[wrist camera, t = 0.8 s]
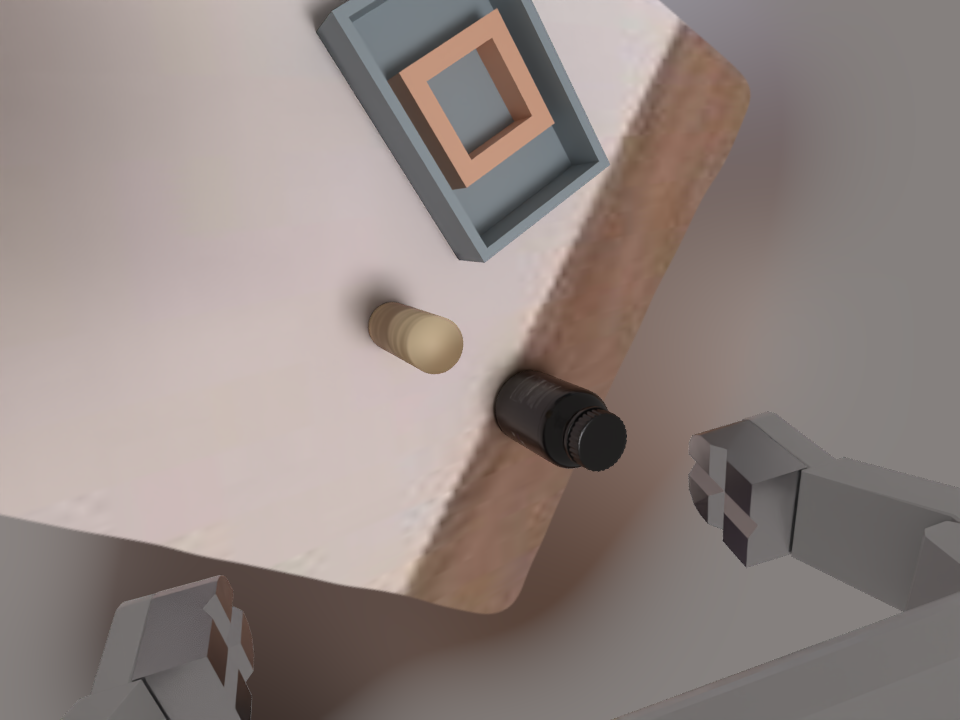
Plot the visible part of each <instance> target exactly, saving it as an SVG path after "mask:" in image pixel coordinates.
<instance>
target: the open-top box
mask: <svg viewBox="0 0 960 720" xmlns="http://www.w3.org/2000/svg"><path fill="white" fill-rule="evenodd" d="M316 32H317V34H318V36H319V37H320V39H321V40H322V42H323V44H324V45H325V47H326V48H327V50H328V52H329V53H330V55H331V56H332V58H333V60H334V61H335V63H336V64H337V66H338V68H339V69H340V71H341V72H342V74H343V76H344V77H345V79H346V80H347V82H348V84H349V85H350V87H351V88H352V90H353V91H354V93H355V95H356V96H357V98H358V99H359V101H360V103H361V104H362V106H363V107H364V109H365V111H366V112H367V114H368V115H369V117H370V119H371V120H372V122H373V123H374V125H375V127H376V128H377V130H378V131H379V133H380V135H381V136H382V138H383V139H384V141H385V143H386V144H387V146H388V147H389V149H390V151H391V152H392V154H393V155H394V157H395V159H396V160H397V162H398V163H399V165H400V167H401V168H402V170H403V171H404V173H405V175H406V176H407V178H408V179H409V181H410V183H411V184H412V186H413V187H414V189H415V191H416V192H417V194H418V195H419V197H420V199H421V200H422V202H423V203H424V205H425V206H426V208H427V210H428V211H429V213H430V214H431V216H432V218H433V219H434V221H435V222H436V224H437V226H438V227H439V229H440V230H441V232H442V234H443V235H444V237H445V238H446V240H447V242H448V243H449V245H450V246H451V248H452V250H453V251H454V253H455V254H456V256H457V258H458V259H459V260H464V261H474V262H483V263H485V262H486V261H487V260H489V259H490V258H491V257H492V256H494V255H495V254H496V253H498V252H499V251H500V250H501V249H503V248H504V247H505V246H507V245H508V244H509V243H510V242H512V241H513V240H514V239H516V238H517V237H518V236H519V235H521V234H522V233H523V232H525V231H526V230H527V229H528V228H530V227H531V226H532V225H533V224H535V223H536V222H537V221H539V220H540V219H541V218H542V217H544V216H545V215H546V214H548V213H549V212H550V211H551V210H553V209H554V208H555V207H557V206H558V205H559V204H560V203H562V202H563V201H564V200H566V199H567V198H568V197H569V196H571V195H572V194H573V193H574V192H576V191H577V190H578V189H580V188H581V187H582V186H583V185H585V184H586V183H587V182H589V181H590V180H591V179H592V178H594V177H595V176H596V175H598V174H599V173H600V172H601V171H603V170H604V169H605V168H607V167H608V166H609V165H610V163H609V161H608V159H607V157H606V155H605V153H604V151H603V149H602V147H601V145H600V142H599V140H598V138H597V136H596V134H595V132H594V130H593V128H592V126H591V124H590V122H589V119H588V117H587V115H586V113H585V111H584V109H583V107H582V105H581V103H580V101H579V98H578V96H577V94H576V92H575V90H574V88H573V86H572V84H571V82H570V80H569V78H568V75H567V73H566V71H565V69H564V67H563V65H562V63H561V61H560V59H559V57H558V54H557V52H556V50H555V48H554V46H553V44H552V42H551V40H550V38H549V36H548V34H547V31H546V29H545V27H544V25H543V23H542V21H541V19H540V17H539V15H538V13H537V10H536V8H535V6H534V4H533V2H532V0H349V1H347V2H346V3H344V4H342V5H341V6H339V7H338V8H336V9H334V10H333V11H331V13H330V14H329V15H328V17H327V18H326V19H325V21H324V22H323V23H322V25H321V26H320V27H319V29H318V30H317V31H316Z"/></svg>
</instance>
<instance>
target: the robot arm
mask: <svg viewBox="0 0 960 720" xmlns="http://www.w3.org/2000/svg"><path fill="white" fill-rule="evenodd" d="M689 455H690V456H691V457H692V458H693V459H694V460H695V461H696V463H695V465H694V466H693V468H692V469H691V471H690V473H689V491H690V494H691V497H692V500H693V503H694V505H695V507H696V509H697V510H698V512H699V514H700V515H701V516H702V518H703V519H704V520H705V521H706V522H707V523H708V524H709V525H712V526H715V527H717V528H720V529H722V530H723V542H724V543H725V544H726V545H727V546H728V548H729V549H730V550H731V551H732V552H733V553H734V554H735V556H736V557H737V558H738V559H739V560H740V561H741V562H742V563H743V565H744V566H745V567H750V566H754V565H757V564H760V563H763V562H766V561H770V560H773V559H776V558H780V557H783V556H786V555H789V554H792V555H791V556H792V557H793V558H796V559H797V560H800V561H802V562H804V563H806V564H808V565H810V566H812V567H814V568H816V569H818V570H820V571H822V572H824V573H826V574H828V575H830V576H832V577H834V578H836V579H838V580H840V581H842V582H844V583H846V584H848V585H850V586H852V587H854V588H856V589H858V590H860V591H862V592H864V593H866V594H868V595H870V596H872V597H874V598H876V599H879V600H881V601H883V602H885V603H886V604H888V605H890V606H892V607H895V608H897V609H899V610H901V611H903V612H902V613H900V614H897V615H894V616H891V617H889V618H886V619H883V620H880V621H878V622H875V623H873V624H870V625H867V626H864V627H862V628H859V629H856V630H853V631H851V632H848V633H845V634H842V635H840V636H837V637H834V638H831V639H829V640H826V641H823V642H821V643H818V644H815V645H812V646H810V647H807V648H804V649H802V650H799V651H796V652H793V653H791V654H788V655H786V656H783V657H780V658H777V659H774V660H772V661H769V662H766V663H764V664H761V665H758V666H755V667H753V668H750V669H747V670H745V671H742V672H739V673H737V674H734V675H731V676H728V677H726V678H723V679H720V680H718V681H715V682H712V683H709V684H707V685H704V686H701V687H699V688H696V689H693V690H690V691H688V692H685V693H682V694H680V695H677V696H674V697H672V698H669V699H666V700H663V701H661V702H658V703H656V704H652V705H650V706H647V707H644V708H642V709H639V710H636V711H634V712H631V713H628V714H625V715H623V716H620V717H617V718H614V719H612V720H960V488H958V487H955V486H951V485H947V484H943V483H940V482H936V481H932V480H928V479H925V478H921V477H916V476H913V475H909V474H906V473H902V472H898V471H894V470H891V469H887V468H883V467H880V466H876V465H872V464H868V463H864V462H861V461H857V460H853V459H850V458H846V457H843V458H839V459H835V458H834V457H833V456H831V455H830V454H829V453H827V452H826V451H825V450H823V449H822V448H821V447H819V446H818V445H817V444H815V443H814V442H813V441H811V440H810V439H808V438H807V437H806V436H805V435H803V434H802V433H801V432H800V431H798V430H797V429H796V428H794V427H793V426H792V425H790V424H789V423H787V422H786V421H785V420H784V419H782V418H781V417H779V416H778V415H777V414H775V413H772V412H769V411H767V412H764V413H761V414H758V415H755V416H752V417H748V418H745V419H743V420H742V421H738V422H734V423H731V424H728V425H724V426H721V427H718V428H714V429H711V430H708V431H705V432H701V433H698V434H695V435H692V437H691V439H690V442H689ZM233 593H234V591H233V589H232V587H231V585H230V584H229V582H228V580H227V578H226V577H225V576H222V575H219V576H216V577H212V578H208V579H204V580H201V581H197V582H193V583H190V584H187V585H183V586H179V587H175V588H171V589H168V590H164V591H160V592H157V593H156V594H152V595H148V596H144V597H141V598H137V599H133V600H130V601H126V602H123V603H122V604H121V605H120V606H119V607H118V609H117V610H116V613H115V615H114V619H113V622H112V625H111V629H110V632H109V635H108V638H107V642H106V645H105V648H104V652H103V655H102V658H101V661H100V664H99V667H98V671H97V674H96V677H95V681H94V684H93V687H92V691H91V694H90V695H89V696H86V697H83V698H80V699H79V700H78V701H77V702H76V703H75V704H74V705H73V706H72V707H71V709H70V710H69V711H68V712H67V713H66V714H65V715H64V716H63V717H62V718H61V719H60V720H251V705H252V695H251V693H250V691H249V689H248V687H247V685H246V683H245V682H246V681H247V679H248V677H249V676H250V675H251V673H252V672H253V670H254V669H253V668H254V650H253V642H252V635H251V631H250V628H249V624H248V621H247V619H246V617H245V615H244V612H243V611H242V610H239V609H238V608H235V607H233V606H232V604H233Z"/></svg>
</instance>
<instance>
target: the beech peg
mask: <svg viewBox="0 0 960 720" xmlns="http://www.w3.org/2000/svg"><path fill="white" fill-rule="evenodd" d="M368 330H369V334H370V337H371V339H372V340H373V342H374V343H375V344H376V345H377V346H379V347H380V348H382V349H384V350H386V351H388V352H389V353H391V354H393V355H395V356H397V357H398V358H400V359H402V360H404V361H405V362H407V363H409V364H411V365H413V366H414V367H416V368H418V369H420V370H421V371H423V372H426V373H429V374H440V373H443V372H446V371H448V370H449V369H451V368H452V367H453V366H454V365H455V364H456V363H457V362H458V360H459V358H460V356H461V354H462V350H463V337H462V334H461V331H460V330H459V328H458V327H457V325H456V324H455V323H454V322H452V321H451V320H449V319H447V318H444V317H441V316H438V315H435V314H431V313H428V312H425V311H422V310H419V309H416V308H413V307H410V306H407V305H404V304H400V303H397V302H388V303H384V304H382V305H380V306H379V307H378V308H376V309H375V310H374V312H373V313H372V315H371V317H370V319H369V324H368Z"/></svg>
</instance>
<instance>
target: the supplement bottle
mask: <svg viewBox="0 0 960 720" xmlns="http://www.w3.org/2000/svg"><path fill="white" fill-rule="evenodd" d="M496 418H497V422H498V424H499V426H500V428H501V430H502V431H503V432H504V433H505V434H506V435H507V436H508V437H510V438H511V439H513V440H514V441H516V442H518V443H519V444H521V445H523V446H524V447H526V448H528V449H529V450H531V451H533V452H534V453H536V454H537V455H539V456H541V457H542V458H544V459H546V460H547V461H549V462H551V463H552V464H554V465H556V466H559V467H562V468H568V469H572V468H578V467H581V466H582V467H584V468H586V469H588V470H592V471H598V472H599V471H601V470H602V471H604V470H605V469H608V468H609V467H611V466H613V465H614V463H616V462H617V461H618V459H619V458H620V457H621V455H622V454H623V451H624V449H625V444H626V441H627V440H626V438H627V434H626V429H625V425H624V424H623V421H621V420H620V418H619V417H618V416H616V415H615V414H613V413H611V412H609V411H608V409H607V407H606V405H605V403H604V402H603V400H602V399H601V398H600V397H599V396H598V395H596V394H595V393H593V392H591V391H589V390H587V389H584V388H582V387H579V386H577V385H574V384H571V383H569V382H566V381H564V380H561V379H558V378H556V377H553V376H551V375H548V374H545V373H542V372H539V371H533V370H531V371H524V372H521V373H518V374H516V375H515V376H513V377H512V378H510V379H509V380H508V381H507V382H506V383H505V385H504V386H503V387H502V389H501V391H500V393H499V395H498V398H497V401H496Z"/></svg>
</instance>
